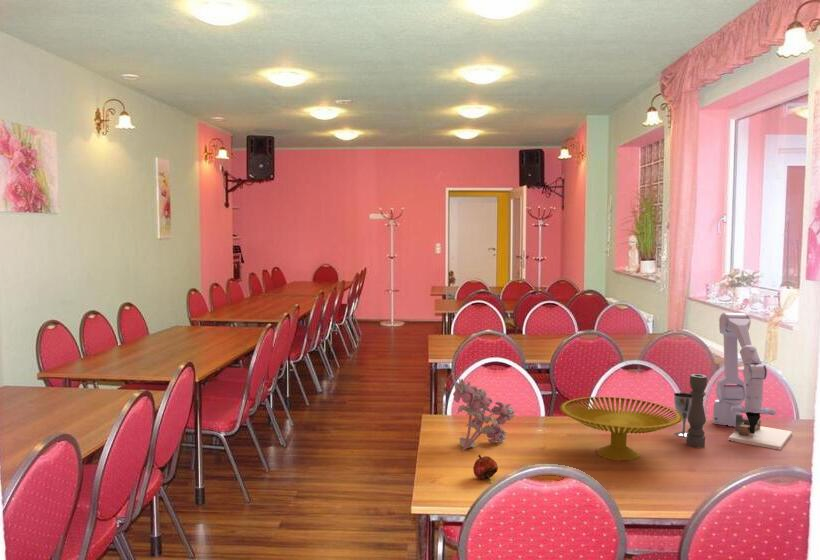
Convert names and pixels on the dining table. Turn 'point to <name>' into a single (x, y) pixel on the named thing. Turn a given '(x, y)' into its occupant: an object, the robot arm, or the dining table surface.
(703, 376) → the candle holder
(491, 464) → the pomegranate
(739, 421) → the metal keeper
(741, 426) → the walnut link
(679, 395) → the wine glass
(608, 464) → the dining table surface
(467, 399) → the flower
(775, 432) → the white plate
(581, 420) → the pedestal fruit bowl
